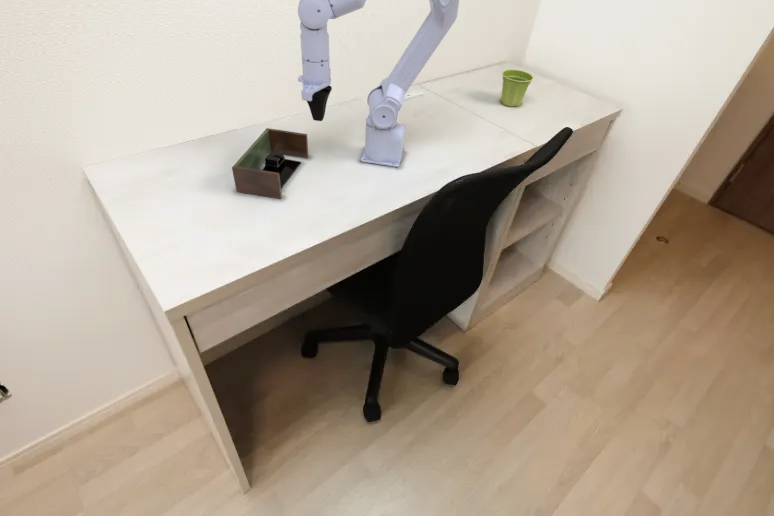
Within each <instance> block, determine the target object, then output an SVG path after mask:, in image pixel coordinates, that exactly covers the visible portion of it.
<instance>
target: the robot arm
mask: <svg viewBox="0 0 774 516" xmlns="http://www.w3.org/2000/svg"><path fill="white" fill-rule="evenodd" d="M428 1H429V7H430V11H429V13H428V15H427V16H426V17H425V19H424V21H423V22H422V24H421V25H420V27H419V28H418V30H417V31H416V33H415V34H414V36H413V38H412V39H411V40H410V42H409V44H408V45H407V47H406V48H405V50H404V51H403V53H402V54H401V56H400V58H399V59H398V60H397V62H396V64H395V66H394V67H393V69H392V70H391V72H390V73H389V75H388V76H387V77H385V78H383V79H382V80H381V82H380V83H379V85H377V86H376V87H374V88H373V89H371V90H370V92H369V93H368V95H367V100H366V102H367V105H368V111H369V114H368V115H367V117H366V118H365V140H364V148H365V149H364V151H363V153H362V155H361V158H360V162H362V163H369V164H375V165H381V166H389V167H394V168H399V167H400V165H401V162H402V159H403V156H404V153H405V141H406V140H405V139H406V125H405V124H402V123H399V122H398V116H399V112H400V110H401V109H402V107H403V105H404V101H405V97H406V94H407V92H408V91H409V89H410V88H411V86H412V85H413V83H415V81H416V79H417V77H418V76H419V75H420V73H421V71H423V69H424V67H425V66H426V64H427V63H428V61H429V60H430V58H431V57H432V55H434V52H435V51H436V49H437V48H438V47H439V46H440V44H441V42H442V41H443V39H444V37H446V35H447V33H448V32H449V31H450V29H451V27H452V26H453V25H454V23H455V22H456V20H457V18H458V12H459V5H460V0H428ZM366 2H367V0H299V1H298V7H297V16H298V19H299V21H300V24H299V29H300V31H301V32H300V35H299V37H300V38H299V39H300V51H301V52H300V54H301V68H302V74H301V75H299V76H298V77H297V81H298V82H300V83H302V89H301V91H300V94H301V95H300V96H301V101H304V102H305V101H306V104H307V105H308V107H309V111H310V114H311V117H312V120H313V121H317V122H323V121H324V119H325V114H326V109H327V104H328V99H329V97H330V94H331V92H332V89H333V87H332V86H331V84H332V78H331V73H332V72H331V68H330V67H331V66H330V35H329V33H328V23H329V20H335V19H338V18H340V17H344V16H346V15H348V14H351V13H354V12H355V11H358V10H361V9H363V8H364V6H365V4H366Z"/></svg>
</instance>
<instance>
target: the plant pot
mask: <svg viewBox="0 0 774 516" xmlns="http://www.w3.org/2000/svg"><path fill="white" fill-rule="evenodd" d="M501 74H502V89H501V97H500V102H501V103H502V105H505V106H508V107H520V106H521V104H522V102H523V99H524V97H525V94H526V92H527V91H528V88H529V86H530V84H531V82H533V80H534V75H532V74H531V73H529V72H527V71H525V70H520V69H505V70H503V71H502V73H501Z"/></svg>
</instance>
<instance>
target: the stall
mask: <svg viewBox="0 0 774 516" xmlns="http://www.w3.org/2000/svg"><path fill="white" fill-rule="evenodd" d="M271 151H274V152H279V153H284V156H289V157H296V158H302V159H309V156H310V155H309V141H308V133H301V132H297V131H295V132H294V131H289V130H281V129H276V128H269V127H267V128H265V130H264V131H262V133H261V134H260V135H259V136H258V137H257V139H255V141H253V143H252V144H251V145H250V147H248V149H247V150H246V151H245V152H244V153H243V155H241V156H240V158H239V159H238V160H237V161H236V162H235V164H234V165H232V166H231V171H232V175H233V176H232V177H233V179H234V186H235V191H236V193H241V194H247V195H252V196H253V195H254V196H259V197H265V198H272V199H278V200H281V199H282V198H283V195H282V189H281V185H280V176H279V173H276V172H270V171H264V170H262V169H260V168H261V167H262V165H263V164H265V158H266V157H267V156H268V155H269V154H270V153H271Z"/></svg>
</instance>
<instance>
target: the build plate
mask: <svg viewBox="0 0 774 516" xmlns="http://www.w3.org/2000/svg"><path fill="white" fill-rule="evenodd" d="M285 156H286V155H284V153H279V152H274V151H271V153H270V154H269V155H268V156H267V157H266V158H265V162H264V167H263V168H262V169H261V170H264V171H270V172H276V173H279V176H280V185H281V190H282V189H283V188H284V186H285V185H286V183H288V181H289V180H290V178H291V177H292V176H293V174H294V173H295V172H296V170H298V168H299V167H300V165H301V164H302V162H301V161H298V160H292V159H287V158H286V157H285Z"/></svg>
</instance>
